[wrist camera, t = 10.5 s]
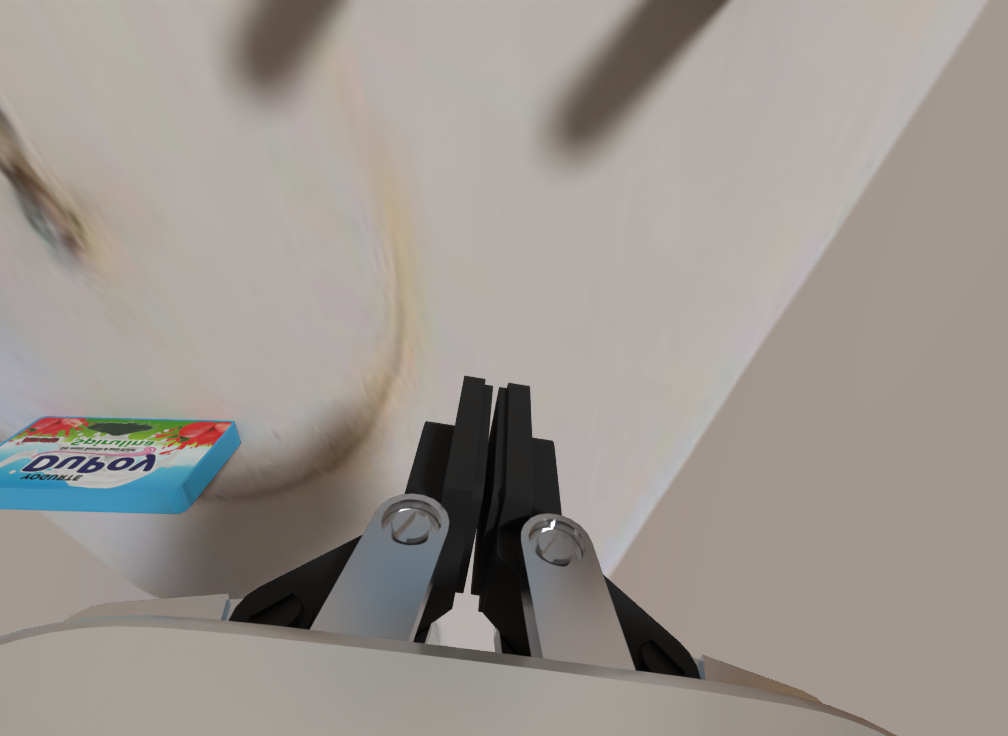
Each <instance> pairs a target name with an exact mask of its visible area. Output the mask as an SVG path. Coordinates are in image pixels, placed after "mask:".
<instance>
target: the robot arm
mask: <svg viewBox="0 0 1008 736" xmlns="http://www.w3.org/2000/svg"><path fill="white" fill-rule="evenodd" d="M492 392H493V386H490V385H485V379H482V378H476V377H469V376H464V381H463V386H462V392H461V397H460V402H459V407H458V413H457V418H456V423H455V426H454V425H447V424H441V423H434V422H428V421H426V422H425V424H424V427H423V431H422V434H421V438H420V442H419V445H418V449H417V452H416V456H415V459H414V463H413V466H412V470H411V473H410V477H409V480H408V484H407V487H406V491H405V494H402V495H399V496H396V497H393V498H390V499H389V500H387V501H386V502H384V503H383V504H382V505H381V506H380V507H379V508H378V509H377V511H376V512H375V514H374V516H373V517H372V519H371V521H370V523H369V525H368V526H367V528H366V530H365V532H364V533H363V535H361V536H359V537H357V538H355V539H353V540H351V541H349V542H347V543H345V544H343V545H341V546H339V547H337V548H336V549H334V550H332V551H330V552H328V553H326V554H324V555H322V556H320V557H318V558H316V559H314V560H312V561H310V562H308V563H306V564H304V565H302V566H300V567H298V568H296V569H294V570H292V571H290V572H288V573H286V574H284V575H282V576H280V577H278V578H276V579H274V580H272V581H270V582H268V583H266V584H265V585H263V586H261V587H259V588H257V589H256V590H254V591H253V592H251V593H250V594H248V595H247V596H246V597H245V598H243V599H231V600H229V594H216V595H203V596H191V597H178V598H165V599H153V600H141V601H128V602H115V603H106V604H102V605H97V606H93V607H89V608H87V609H85V610H83V611H81V612H79V613H76V614H74V615H72V616H71V617H69V618H68V619H66V620H65V621H63V622H58V623H53V624H48V625H44V626H38V627H34V628H29V629H24V630H20V631H17V632H13V633H10V634H7V635H3V636H0V736H897V735H895V734H893V733H891V732H889V731H887V730H885V729H883V728H881V727H879V726H877V725H875V724H873V723H871V722H869V721H867V720H865V719H863V718H861V717H858V716H856V715H853V714H851V713H848V712H845V711H843V710H840V709H837V708H835V707H832V706H830V705H826V704H823V703H822V702H821V701H819V700H818V699H817V698H816V697H814V696H812V695H810V694H808V693H806V692H804V691H802V690H800V689H797V688H794V687H791V686H789V685H786V684H783V683H780V682H778V681H775V680H772V679H769V678H766V677H763V676H761V675H758V674H755V673H753V672H750V671H747V670H744V669H741V668H739V667H736V666H733V665H730V664H727V663H725V662H722V661H719V660H716V659H713V658H711V657H708V656H705V655H702V657H701V658H700V660H699V659H695V658H693V657H691V655H690V653H689V652H688V651H687V650H686V649H685V648H684V646H683V645H682V644H681V643H680V642H679V641H678V640H677V639H675V638H674V637H673V636H672V635H671V634H670V633H669V632H668V631H666V630H665V629H664V628H663V627H662V626H661V625H660V624H659V623H657V622H656V621H655V620H654V619H653V618H652V617H651V616H649V615H648V614H647V613H646V612H645V611H644V610H643V609H642V608H640V607H639V606H638V605H637V604H636V603H635V602H633V601H632V600H631V599H630V598H629V597H628V596H627V595H626V594H625V593H623V592H622V591H621V590H620V589H619V588H618V587H617V586H615V585H614V584H613V583H612V582H611V581H610V580H609V579H608V578H606V577H605V576H604V575H603V573H602V570H601V567H600V564H599V561H598V558H597V556H596V553H595V550H594V547H593V544H592V541H591V539H590V538H589V536H588V534H587V532H586V531H585V530H584V529H583V528H582V527H581V526H580V525H579V524H577V523H576V522H574V521H573V520H571V519H569V518H567V517H564V516H562V513H561V504H560V494H559V485H558V475H557V466H556V457H555V447H554V442H553V441H551V440H544V439H538V438H532V423H531V400H530V386H525V385H519V384H513V383H508V386H507V388H502V387H499V391H498V396H497V401H496V406H495V411H494V416H493V421H492V426H491V431H490V436H489V427H490V415H491V404H492ZM488 439H489V441H488ZM476 529H477V531H476ZM475 534H476V542H475V552H474V563H473V574H472V584H471V594H472V595H479V596H480V597H479V610H478V612H483V614H484V615H485V616H486V617H487V618H488V619H489V621H490V622H491V623H492V624H493V625H494V626H495V630H494V645H495V652H488V651H480V650H472V649H464V648H456V647H448V646H439V642H440V639H439V631H438V629H437V627H436V625H435V623H434V621H436V620H437V619H438V618H440V617H441V616H443V615H444V614H445V613H447V612H448V611H450V610H451V609H452V607H453V602H454V596H455V592H457V593H463V592H464V587H465V582H466V577H467V573H468V568H469V563H470V558H471V553H472V548H473V543H474V539H475Z"/></svg>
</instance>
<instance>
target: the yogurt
mask: <svg viewBox="0 0 1008 736" xmlns="http://www.w3.org/2000/svg"><path fill="white" fill-rule="evenodd" d="M240 443H241V441H240V438H239V435H238V432H237V429H236V426H235V423H234V421H210V420H171V419H132V418H93V417H53V416H45V417H42V418H39V419H38V420H36V421H34V422H33V423H31V424H30V425H28V426H27V427H25V428H24V429H22V430H21V431H19V432H18V433H16V434H15V435H13V436H12V437H10V438H9V439H7V440H6V441H4V442H3V443H2V444H0V509H16V510H49V511H85V512H120V513H155V514H179V513H182V512H184V511H186V510H187V509H189V508H190V506H191V505H192V504H193V503H194V501H195V500H196V499H197V498H198V496H199V495H200V494H201V493H202V491H203V490H204V489H205V488H206V486H207V485H208V484H209V483H210V481H211V480H212V479H213V478H214V476H215V475H216V474H217V473H218V471H219V470H220V469H221V468H222V466H223V465H224V464H225V463H226V461H227V460H228V459H229V458H230V456H231V455H232V454H233V453H234V451H235V450H236V449H237V448H238V446H239V445H240Z"/></svg>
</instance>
